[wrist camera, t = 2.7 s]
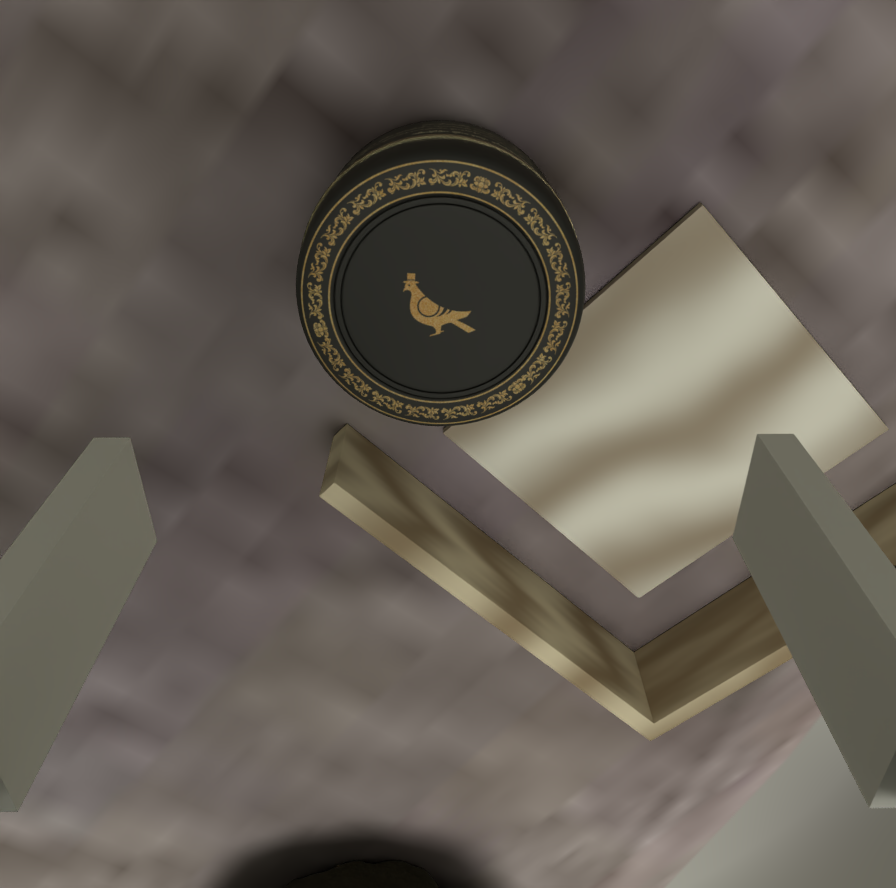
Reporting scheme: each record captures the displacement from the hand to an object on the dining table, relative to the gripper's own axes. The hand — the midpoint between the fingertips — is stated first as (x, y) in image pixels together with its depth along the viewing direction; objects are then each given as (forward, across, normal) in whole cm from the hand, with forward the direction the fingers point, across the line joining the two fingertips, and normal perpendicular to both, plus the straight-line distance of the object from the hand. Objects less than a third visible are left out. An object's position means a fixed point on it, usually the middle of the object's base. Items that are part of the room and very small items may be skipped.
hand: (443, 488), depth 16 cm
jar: (+18, 0, 0) cm, 19 cm away
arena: (+18, +10, -11) cm, 23 cm away
